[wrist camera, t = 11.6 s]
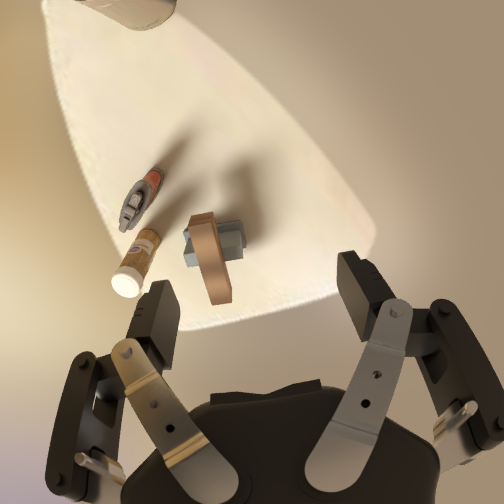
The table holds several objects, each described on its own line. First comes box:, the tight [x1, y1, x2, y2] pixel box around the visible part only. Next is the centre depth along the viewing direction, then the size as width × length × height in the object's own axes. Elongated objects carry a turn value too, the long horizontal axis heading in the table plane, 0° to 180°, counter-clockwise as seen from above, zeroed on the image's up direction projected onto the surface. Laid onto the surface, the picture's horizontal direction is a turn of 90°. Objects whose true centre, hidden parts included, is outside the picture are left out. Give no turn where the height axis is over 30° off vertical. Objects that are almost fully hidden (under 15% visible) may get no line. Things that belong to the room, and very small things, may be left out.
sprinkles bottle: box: [112, 229, 160, 298], centre depth 41 cm, size 5×5×14 cm
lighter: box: [118, 168, 164, 233], centre depth 37 cm, size 8×3×10 cm, turn 146°
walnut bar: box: [188, 212, 232, 305], centre depth 40 cm, size 14×3×4 cm, turn 9°
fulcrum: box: [183, 220, 246, 267], centre depth 44 cm, size 5×10×6 cm, turn 99°
